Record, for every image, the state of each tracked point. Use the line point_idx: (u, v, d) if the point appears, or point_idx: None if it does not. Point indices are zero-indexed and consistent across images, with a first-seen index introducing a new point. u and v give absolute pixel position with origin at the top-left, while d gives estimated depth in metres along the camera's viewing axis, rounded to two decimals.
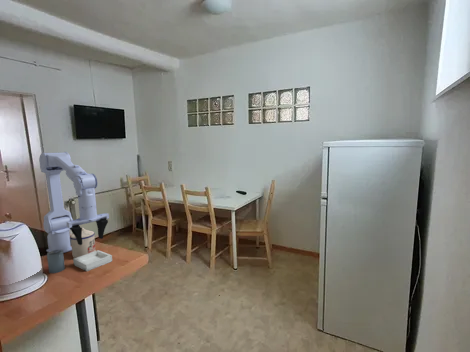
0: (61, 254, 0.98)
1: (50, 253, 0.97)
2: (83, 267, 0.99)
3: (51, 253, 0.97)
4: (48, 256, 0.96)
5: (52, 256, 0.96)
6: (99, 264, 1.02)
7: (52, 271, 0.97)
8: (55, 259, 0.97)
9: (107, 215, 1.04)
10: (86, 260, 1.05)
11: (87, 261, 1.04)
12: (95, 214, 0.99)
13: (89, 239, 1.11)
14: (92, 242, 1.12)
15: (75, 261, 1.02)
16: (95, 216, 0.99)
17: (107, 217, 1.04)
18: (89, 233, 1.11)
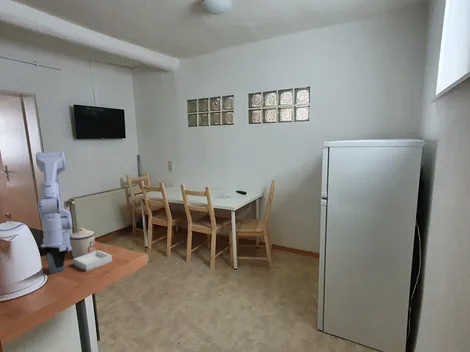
0: None
1: None
2: (83, 267, 0.99)
3: None
4: (48, 256, 0.96)
5: None
6: (99, 264, 1.02)
7: (52, 271, 0.97)
8: None
9: (59, 247, 0.93)
10: (86, 260, 1.05)
11: (87, 261, 1.04)
12: (48, 241, 0.95)
13: (89, 239, 1.11)
14: (92, 242, 1.12)
15: (75, 261, 1.02)
16: (47, 243, 0.95)
17: (59, 249, 0.94)
18: (89, 233, 1.11)
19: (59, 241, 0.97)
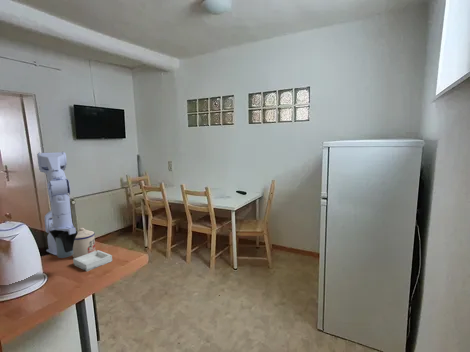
0: None
1: (59, 237, 0.94)
2: (83, 267, 0.99)
3: None
4: (57, 240, 0.93)
5: (61, 240, 0.93)
6: (99, 264, 1.02)
7: (61, 256, 0.93)
8: None
9: (68, 230, 0.90)
10: (86, 260, 1.05)
11: (87, 261, 1.04)
12: (57, 224, 0.92)
13: (89, 239, 1.11)
14: (92, 242, 1.12)
15: (75, 261, 1.02)
16: (56, 226, 0.92)
17: (68, 232, 0.90)
18: (89, 233, 1.11)
19: (68, 224, 0.94)
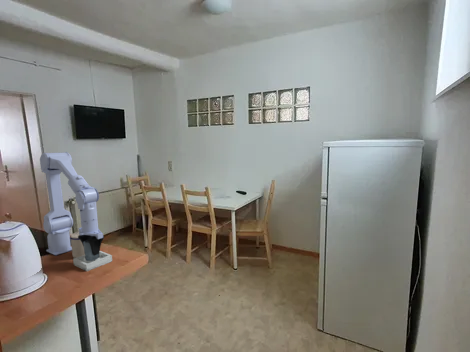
0: None
1: (86, 242, 1.02)
2: (83, 267, 0.99)
3: (87, 242, 1.02)
4: (85, 244, 1.01)
5: (88, 244, 1.01)
6: (99, 264, 1.02)
7: (89, 259, 1.02)
8: None
9: (97, 235, 0.98)
10: None
11: (87, 261, 1.04)
12: (85, 229, 1.00)
13: None
14: None
15: (75, 261, 1.02)
16: (85, 231, 1.00)
17: (97, 237, 0.99)
18: None
19: (95, 230, 1.02)
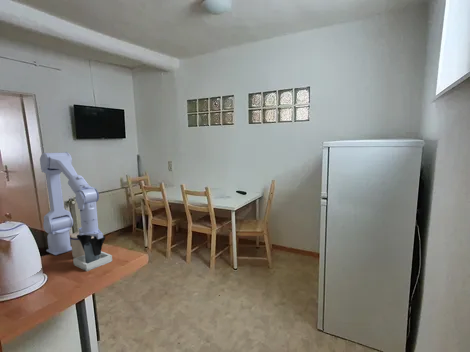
0: None
1: (87, 245, 1.02)
2: (83, 267, 0.99)
3: (88, 245, 1.02)
4: (85, 248, 1.01)
5: (89, 248, 1.01)
6: (99, 264, 1.02)
7: (89, 262, 1.02)
8: (92, 250, 1.02)
9: (97, 235, 0.98)
10: None
11: None
12: (85, 229, 1.00)
13: None
14: None
15: (75, 261, 1.02)
16: (85, 231, 1.00)
17: (97, 237, 0.99)
18: None
19: (95, 230, 1.02)
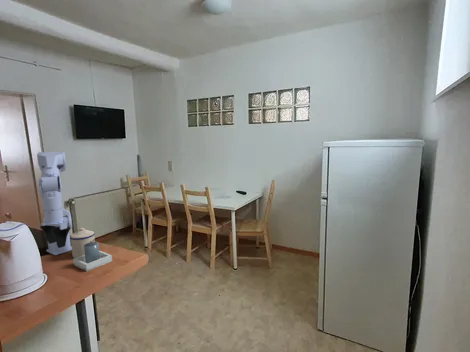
0: (97, 246, 1.03)
1: (87, 245, 1.02)
2: (83, 267, 0.99)
3: (88, 245, 1.02)
4: (85, 248, 1.01)
5: (89, 248, 1.01)
6: (99, 264, 1.02)
7: (89, 262, 1.02)
8: (92, 250, 1.02)
9: (59, 225, 0.92)
10: None
11: None
12: (48, 219, 0.94)
13: (89, 239, 1.11)
14: None
15: (75, 261, 1.02)
16: (48, 221, 0.94)
17: (60, 228, 0.93)
18: (89, 233, 1.11)
19: (60, 220, 0.96)
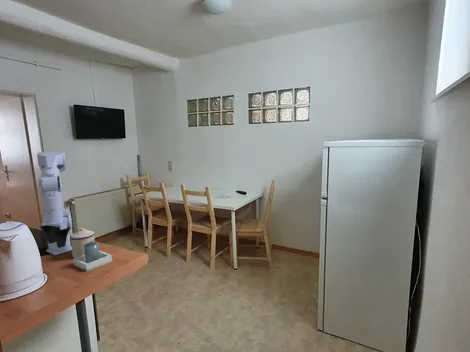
0: (97, 246, 1.03)
1: (87, 245, 1.02)
2: (83, 267, 0.99)
3: (88, 245, 1.02)
4: (85, 248, 1.01)
5: (89, 248, 1.01)
6: (99, 264, 1.02)
7: (89, 262, 1.02)
8: (92, 250, 1.02)
9: (59, 225, 0.92)
10: None
11: None
12: (48, 219, 0.94)
13: (89, 239, 1.11)
14: None
15: (75, 261, 1.02)
16: (48, 221, 0.94)
17: (60, 228, 0.93)
18: (89, 233, 1.11)
19: (60, 220, 0.96)
